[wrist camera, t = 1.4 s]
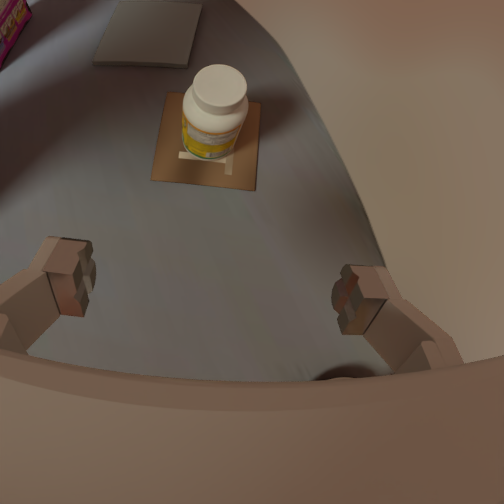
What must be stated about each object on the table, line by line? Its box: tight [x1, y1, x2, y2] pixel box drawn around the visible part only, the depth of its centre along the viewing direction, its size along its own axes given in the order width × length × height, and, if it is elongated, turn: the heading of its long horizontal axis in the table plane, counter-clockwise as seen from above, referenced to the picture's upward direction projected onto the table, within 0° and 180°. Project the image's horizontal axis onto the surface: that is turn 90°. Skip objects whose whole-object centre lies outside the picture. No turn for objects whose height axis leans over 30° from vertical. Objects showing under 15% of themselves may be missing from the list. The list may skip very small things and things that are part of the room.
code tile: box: [151, 92, 261, 191], centre depth 31 cm, size 10×10×1 cm
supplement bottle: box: [182, 64, 248, 161], centre depth 26 cm, size 5×5×10 cm
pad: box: [92, 1, 203, 69], centre depth 30 cm, size 11×11×1 cm
